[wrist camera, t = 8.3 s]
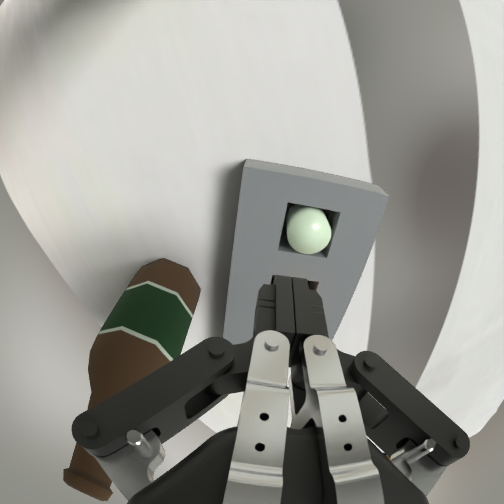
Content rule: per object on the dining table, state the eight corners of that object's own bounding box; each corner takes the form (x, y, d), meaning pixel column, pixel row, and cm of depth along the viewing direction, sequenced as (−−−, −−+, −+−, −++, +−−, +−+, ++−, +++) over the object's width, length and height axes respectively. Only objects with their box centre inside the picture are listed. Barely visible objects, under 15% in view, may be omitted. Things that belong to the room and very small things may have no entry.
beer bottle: (206, 313, 32) (154, 518, 12) (146, 308, 33) (70, 485, 12) (198, 257, 28) (109, 505, 8) (132, 254, 29) (12, 451, 8)
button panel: (246, 158, 23) (243, 166, 20) (377, 185, 23) (389, 195, 21) (224, 339, 34) (220, 357, 32) (315, 351, 35) (317, 369, 32)
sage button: (290, 197, 24) (292, 210, 21) (329, 205, 24) (336, 218, 21) (282, 234, 26) (283, 250, 23) (319, 240, 26) (324, 256, 23)
